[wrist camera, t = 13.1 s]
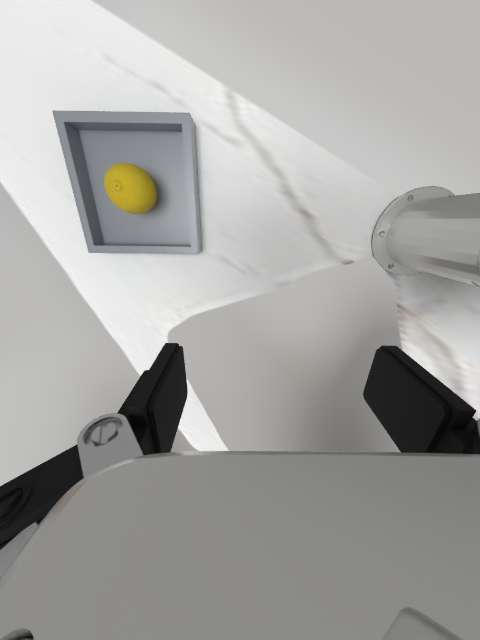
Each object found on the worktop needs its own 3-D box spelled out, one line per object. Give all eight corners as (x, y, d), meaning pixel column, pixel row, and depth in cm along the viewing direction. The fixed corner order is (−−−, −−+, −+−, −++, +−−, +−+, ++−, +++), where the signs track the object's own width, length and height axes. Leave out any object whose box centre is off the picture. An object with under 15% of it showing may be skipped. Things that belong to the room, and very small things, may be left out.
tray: (195, 124, 29) (189, 112, 26) (201, 251, 36) (198, 254, 33) (72, 122, 29) (52, 110, 26) (102, 249, 36) (88, 252, 33)
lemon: (138, 220, 33) (109, 220, 26) (117, 179, 31) (79, 167, 24) (171, 206, 32) (150, 202, 25) (152, 163, 30) (124, 145, 23)
